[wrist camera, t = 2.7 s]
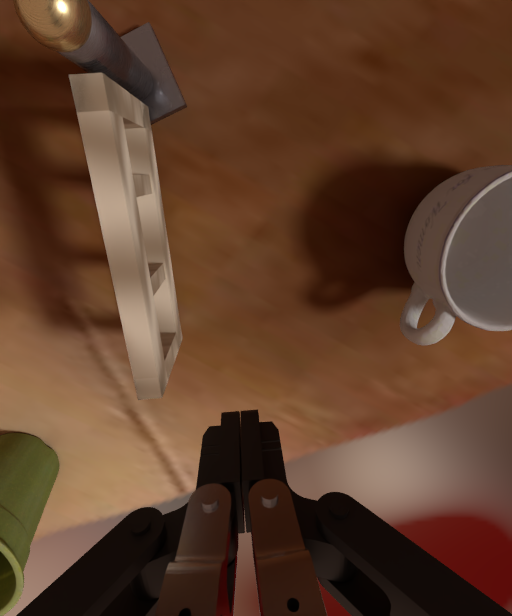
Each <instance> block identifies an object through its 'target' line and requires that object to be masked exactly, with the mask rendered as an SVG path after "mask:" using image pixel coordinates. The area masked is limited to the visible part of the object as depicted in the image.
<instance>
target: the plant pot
mask: <svg viewBox="0 0 512 616" xmlns="http://www.w3.org/2000/svg"><path fill="white" fill-rule="evenodd" d="M58 471H59V460H58V457H57V455H56V453H55V451H54V450H53V449H50V448H49V447H47V446H46V445H45V444H44V443H43V441H42V440H41V439H39V438H37V437H35V436H32V435H28V434H23V433H8V434H3V435H1V436H0V616H3V615H4V614H6V613H7V612H8V611H10V610H11V609H12V608H13V607H14V606H15V604H16V603H17V602H18V600H19V598H20V596H21V594H22V591H23V587H24V574H23V571H24V568H25V565H26V562H27V559H28V556H29V552H30V545H31V542H32V539H33V537H34V534H35V531H36V529H37V526H38V524H39V521H40V518H41V516H42V513H43V510H44V508H45V505H46V503H47V500H48V498H49V495H50V492H51V490H52V487H53V485H54V482H55V480H56V477H57V474H58Z"/></svg>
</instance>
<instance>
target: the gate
mask: <svg viewBox="0 0 512 616" xmlns="http://www.w3.org/2000/svg"><path fill="white" fill-rule="evenodd" d="M69 79H70V84H71V88H72V93H73V98H74V102H75V107H76V112H77V116H78V121H79V126H80V130H81V135H82V140H83V144H84V149H85V154H86V159H87V163H88V168H89V173H90V177H91V182H92V187H93V191H94V196H95V201H96V205H97V210H98V215H99V220H100V224H101V229H102V234H103V238H104V243H105V248H106V252H107V257H108V262H109V266H110V271H111V276H112V280H113V285H114V290H115V295H116V299H117V304H118V309H119V313H120V318H121V323H122V327H123V332H124V337H125V341H126V346H127V351H128V355H129V360H130V365H131V370H132V374H133V379H134V384H135V388H136V393H137V398H138V400H143V399H156V398H162V397H163V394H164V391H165V388H166V385H167V382H168V379H169V376H170V373H171V370H172V368H173V365H174V362H175V359H176V356H177V353H178V350H179V347H180V344H181V341H182V333H181V326H180V319H179V312H178V306H177V299H176V292H175V285H174V279H173V272H172V265H171V258H170V252H169V245H168V238H167V231H166V225H165V218H164V211H163V204H162V198H161V191H160V184H159V177H158V171H157V164H156V157H155V150H154V144H153V137H152V130H151V123H150V117H149V110H148V106H146V105H145V104H144V103H142V102H141V101H140V100H138V99H137V98H136V97H134V96H133V95H132V94H130V93H129V92H128V91H126V90H125V89H124V88H122V87H121V86H120V85H118V84H117V83H116V82H114V81H113V80H111V79H110V78H109V77H107V76H106V75H105V74H103V73H87V74H69Z"/></svg>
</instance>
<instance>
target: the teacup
mask: <svg viewBox="0 0 512 616" xmlns="http://www.w3.org/2000/svg"><path fill="white" fill-rule="evenodd" d="M404 257H405V263H406V266H407V269H408V271H409V273H410V275H411V277H412V279H413V280H414V284H413V286H412V289H411V295H410V297H409V299H408V301H407V303H406V305H405V307H404V309H403V312H402V314H401V318H400V328H401V331H402V333H403V335H404V336H405V337H406V338H407V339H409V340H410V341H412V342H413V343H416V344H418V345H430V344H433V343H436V342H438V341H439V340H441V339H443V338H444V337H445V336H446V335H447V334H448V332H449V331H450V330H451V328H452V325H453V323H454V321H455V317H456V316H458V317H459V318H460V319H462V320H463V321H465V322H466V323H468V324H470V325H473V326H475V327H478V328H481V329H484V330H491V331H507V330H512V165H501V166H489V167H481V168H475V169H471V170H467V171H464V172H462V173H459V174H457V175H454V176H452V177H450V178H449V179H447V180H445V181H443V182H442V183H441V184H439V185H438V186H437V187H435V188H434V189H433V190H432V191H431V192H430V193H429V194H428V195H427V196H426V197H425V198H424V199H423V200H422V201H421V203H420V204H419V205H418V207H417V208H416V210H415V212H414V213H413V215H412V217H411V220H410V222H409V224H408V227H407V230H406V234H405V240H404ZM430 298H432V299H433V304H434V306H435V308H436V312H435V316H434V318H433V319H432V320H431V321H430V322H429V323H428V324H427V325H426V326H424V327H422V328H419V329H417V323H418V319H419V316H420V314H421V312H422V310H423V308H424V306H425V304H426V302H427V301H428V299H430Z"/></svg>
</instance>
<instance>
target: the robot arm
mask: <svg viewBox="0 0 512 616" xmlns="http://www.w3.org/2000/svg"><path fill="white" fill-rule="evenodd" d="M244 510H245V521H246V531H247V533H248V532H251V534H252V546H253V558H254V567H255V574H256V584H257V592H258V600H259V609H260V616H327V613H326V610H325V606H324V602H323V599H322V595H321V591H320V588H319V584H318V581H317V578H318V580H319V582H320V584H321V585H322V586H323V587H324V588H325V589H326V590H327V591H328V592H329V593H330V594H331V595H332V596H333V597H334V598H335V599H336V600H337V601H338V602H339V603H340V604H341V605H342V606H343V607H344V608H345V609H346V610H347V611H348V612H349V613H350V614H351V615H352V616H512V614H511V613H510V612H508V611H507V610H505V609H504V608H503V607H501V606H500V605H499V604H497V603H496V602H495V601H493V600H492V599H490V598H489V597H488V596H486V595H485V594H484V593H482V592H481V591H479V590H478V589H477V588H475V587H474V586H473V585H471V584H470V583H468V582H467V581H466V580H464V579H463V578H461V577H460V576H459V575H457V574H456V573H455V572H453V571H452V570H451V569H449V568H448V567H446V566H445V565H444V564H442V563H441V562H440V561H438V560H437V559H436V558H434V557H433V556H431V555H430V554H429V553H427V552H426V551H424V550H423V549H422V548H420V547H419V546H418V545H416V544H415V543H414V542H412V541H411V540H409V539H408V538H407V537H405V536H404V535H403V534H401V533H400V532H398V531H397V530H396V529H394V528H393V527H391V526H390V525H389V524H387V523H386V522H385V521H383V520H382V519H381V518H379V517H378V516H376V515H375V514H374V513H372V512H371V511H370V510H368V509H367V508H365V507H364V506H363V505H361V504H360V503H359V502H357V501H356V500H354V499H353V498H352V497H350V496H349V495H346V494H344V493H340V492H330V493H327V494H325V495H323V496H322V497H321V498H320V499H319V500H318V501H316V500H311V499H307V498H303V497H301V496H299V495H297V494H296V493H295V492H293V491H292V490H291V488H290V487H289V485H288V483H287V479H286V473H285V468H284V461H283V455H282V450H281V443H280V437H279V431H278V429H277V427H276V426H275V425H274V424H273V422H272V421H271V422H259V415H258V410H248V411H241V424H240V413H239V411H236V412H223V413H222V415H221V426H210V427H209V428H208V429H207V431H206V432H205V434H204V435H203V440H202V448H201V457H200V463H199V471H198V478H197V486H196V491H194V492H193V494H192V495H191V497H190V499H189V502H188V503H187V504H185V505H184V506H183V507H181V508H179V509H177V510H175V511H172V512H170V513H167V514H164V515H162V513H161V512H160V511H159V510H157V509H155V508H151V507H145V508H140V509H137V510H135V511H133V512H132V513H130V514H129V515H128V516H126V518H124V519H123V520H122V521H121V522H120V523H119V524H118V525H117V526H115V527H114V528H113V529H112V530H111V531H110V532H109V533H108V534H106V535H105V536H104V537H103V538H102V539H101V540H100V541H99V542H98V543H97V544H95V545H94V546H93V547H92V548H91V549H90V550H89V551H88V552H86V553H85V554H84V556H82V557H81V558H80V559H79V560H78V561H77V562H76V563H74V564H73V565H72V566H71V567H70V568H69V569H68V570H66V571H65V572H64V573H63V574H62V575H61V576H60V577H59V578H58V579H56V580H55V581H54V582H53V583H52V584H51V585H50V586H49V587H48V588H46V589H45V590H44V591H43V592H42V593H41V594H40V595H39V596H38V597H37V598H35V599H34V600H33V601H32V602H31V603H30V604H29V605H28V606H26V608H24V609H23V610H22V611H21V612H20V613H19V614H18V615H17V616H233V615H234V600H235V586H236V571H237V551H238V533H244V532H245V531H244V530H245V527H244Z"/></svg>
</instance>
